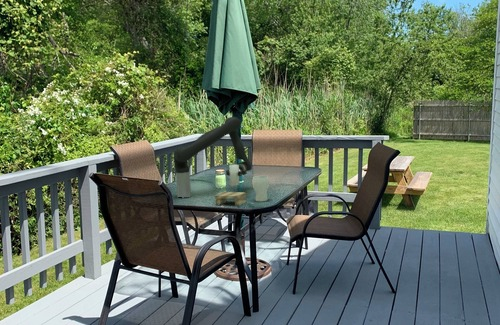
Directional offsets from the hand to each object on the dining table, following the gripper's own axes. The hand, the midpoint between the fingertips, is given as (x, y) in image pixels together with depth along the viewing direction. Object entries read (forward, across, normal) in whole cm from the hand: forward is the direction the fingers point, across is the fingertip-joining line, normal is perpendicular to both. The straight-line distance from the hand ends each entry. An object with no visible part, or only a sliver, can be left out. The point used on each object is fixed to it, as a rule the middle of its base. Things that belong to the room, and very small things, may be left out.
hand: (233, 174), depth 326 cm
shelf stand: (+11, 0, +17) cm, 20 cm away
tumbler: (-2, 0, +8) cm, 8 cm away
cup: (+3, +18, +17) cm, 25 cm away
